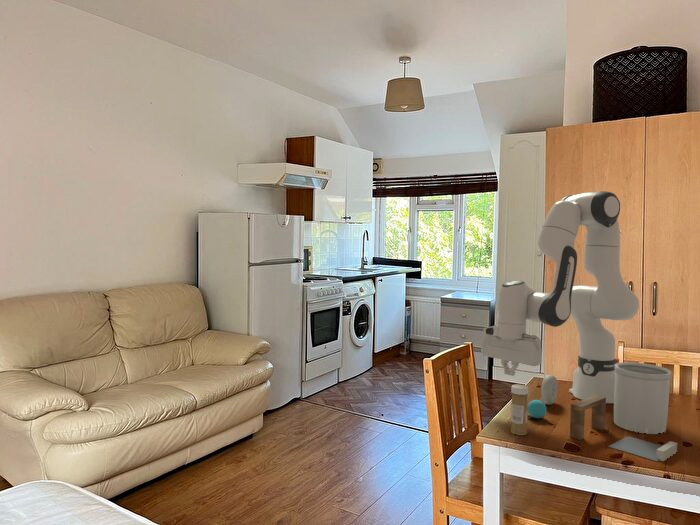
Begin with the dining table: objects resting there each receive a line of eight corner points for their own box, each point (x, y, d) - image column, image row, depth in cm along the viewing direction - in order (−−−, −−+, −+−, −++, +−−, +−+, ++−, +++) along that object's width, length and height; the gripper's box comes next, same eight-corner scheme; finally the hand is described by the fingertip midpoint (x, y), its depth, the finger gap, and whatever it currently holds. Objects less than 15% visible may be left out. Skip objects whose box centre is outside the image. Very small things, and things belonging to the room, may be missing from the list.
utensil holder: (674, 426, 158) (676, 367, 157) (662, 439, 147) (665, 376, 146) (620, 414, 168) (622, 359, 167) (606, 426, 157) (608, 367, 156)
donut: (548, 399, 182) (549, 371, 182) (558, 401, 180) (559, 372, 180) (539, 406, 174) (540, 376, 174) (550, 408, 172) (550, 378, 172)
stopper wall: (670, 450, 139) (670, 441, 139) (676, 452, 138) (677, 443, 137) (656, 459, 133) (656, 449, 133) (663, 461, 132) (663, 451, 132)
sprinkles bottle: (530, 434, 149) (531, 386, 149) (519, 437, 147) (521, 389, 146) (517, 429, 153) (518, 382, 153) (506, 432, 151) (508, 385, 150)
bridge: (569, 436, 148) (570, 404, 147) (594, 425, 157) (595, 395, 156) (580, 440, 145) (581, 406, 145) (604, 428, 155) (605, 397, 154)
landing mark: (627, 436, 148) (628, 436, 148) (675, 450, 139) (675, 449, 139) (608, 446, 141) (608, 446, 141) (657, 461, 131) (657, 461, 131)
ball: (533, 413, 167) (533, 396, 167) (549, 418, 163) (550, 400, 163) (523, 417, 164) (524, 399, 163) (539, 422, 159) (540, 403, 159)
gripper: (546, 335, 164) (544, 380, 164) (490, 326, 179) (488, 367, 180) (535, 337, 160) (533, 383, 160) (479, 328, 175) (477, 369, 176)
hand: (509, 374), depth 170 cm, fingers closed
